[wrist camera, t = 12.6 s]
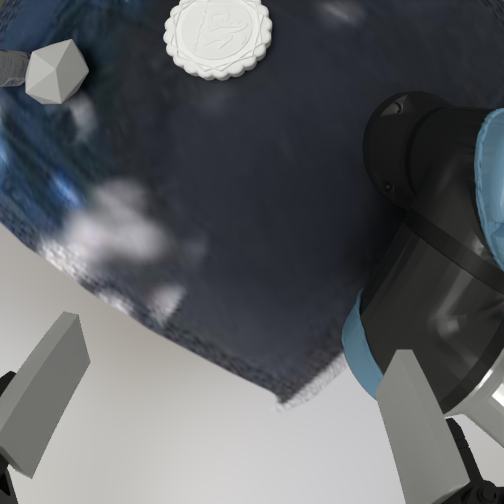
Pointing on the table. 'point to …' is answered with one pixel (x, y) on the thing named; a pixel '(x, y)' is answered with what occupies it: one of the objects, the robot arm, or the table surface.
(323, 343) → the table surface
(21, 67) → the energy drink
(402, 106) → the robot arm
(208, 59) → the mooncake
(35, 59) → the die
